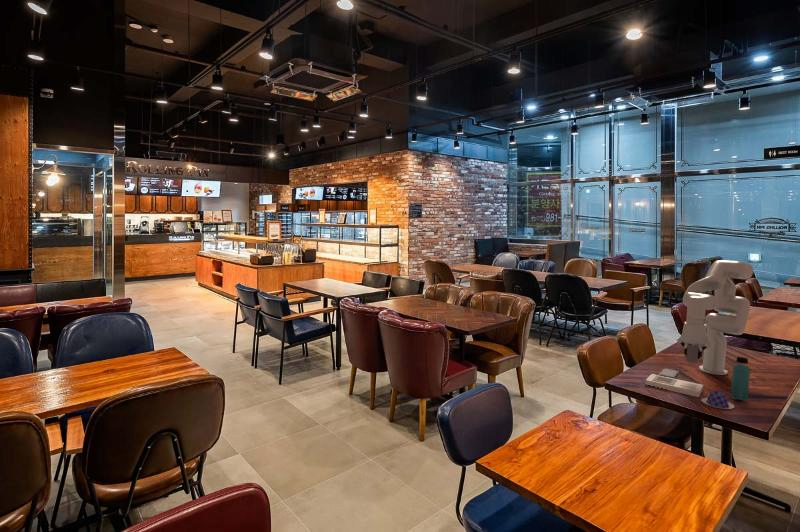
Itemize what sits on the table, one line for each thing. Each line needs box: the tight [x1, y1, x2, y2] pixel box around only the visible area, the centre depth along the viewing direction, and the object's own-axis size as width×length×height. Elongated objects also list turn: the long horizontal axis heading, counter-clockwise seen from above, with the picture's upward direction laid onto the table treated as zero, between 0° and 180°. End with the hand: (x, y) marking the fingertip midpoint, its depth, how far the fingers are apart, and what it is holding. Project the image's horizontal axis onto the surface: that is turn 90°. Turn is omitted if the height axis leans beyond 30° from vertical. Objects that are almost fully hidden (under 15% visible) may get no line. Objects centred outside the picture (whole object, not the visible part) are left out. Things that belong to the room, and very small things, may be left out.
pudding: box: [700, 390, 735, 410], centre depth 197 cm, size 12×12×5 cm
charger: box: [685, 344, 700, 364], centre depth 220 cm, size 4×4×9 cm
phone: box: [657, 368, 680, 379], centre depth 235 cm, size 13×7×1 cm, turn 138°
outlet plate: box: [645, 373, 704, 398], centre depth 216 cm, size 12×22×3 cm, turn 49°
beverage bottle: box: [730, 356, 751, 401], centre depth 200 cm, size 6×7×20 cm
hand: (692, 356), depth 220 cm, fingers closed on charger, 4 cm apart
